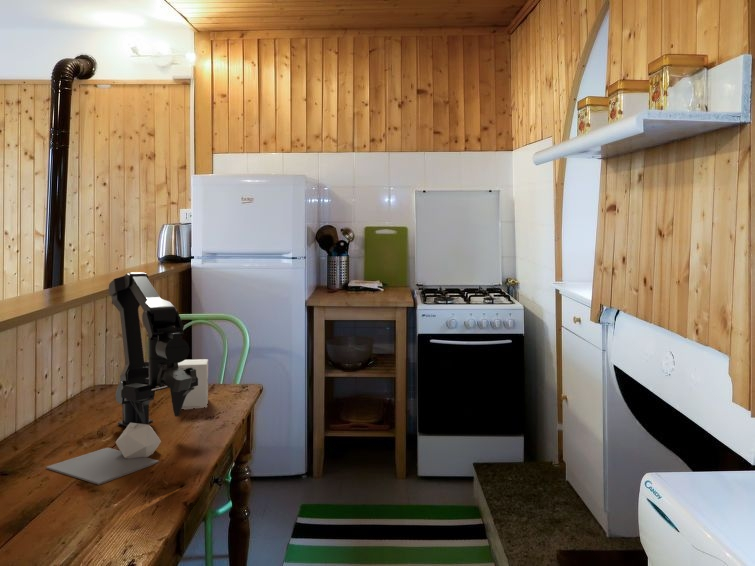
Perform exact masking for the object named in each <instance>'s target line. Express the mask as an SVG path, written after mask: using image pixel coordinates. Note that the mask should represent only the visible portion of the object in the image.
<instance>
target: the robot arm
mask: <svg viewBox="0 0 755 566" xmlns="http://www.w3.org/2000/svg"><path fill="white" fill-rule="evenodd" d="M108 293H109V296H110V298H111V303H112V305H114V307H115V308H116V310H118V312H119V316H120V317H119V318H120V324H121V325H120V327H121V335H122V343H123V344H122V345H123V353H124V362H125V366H124V367H123V370H122V371H121V373H120V374H119V375H120V377H119V380H120V381H119V383H118V385H117V389H116V391H115V394H114V395H115V402H116V403H118V404H120V405H122V406H121V407H122V420H121V421H118V422H117V425H119V426H124V427H127V426H128V425H129V423H138V424H146V425H149V424H151V423H153V419H150V415H149V414H150V403H151V402H152V401H153V400H155V396H156V395H155V393H156V392H158V391H162V390H166V389H169V390H170V396H171V397H170V398H171V404H172V409H173V415H174V417H177V418H178V417H179V416H180V415H181V414H180V413H181V411H182V410H181V409H182V406H183V403H184V400H185V398H186V396H187V394H188V393H189V392H190V391H191V390H194V387H195V386H198V378H197V376H196V369H195V368H193V367H190V368H186V369H182V370H181V369H179V367H178V363H180V362H182V361H184V360H187V358H188V357H189V354H190V349H191V348H190V345H189V344H188V341H186V340H185V339H183V338H182V334H184V333H185V332H184V328H185V326H184V323H183V321H182V318H181V316H180V314H179V311H178V309H177V308H176V307H175V305H173V304H172V303H171V301H169V300H166V299H163V298H161V297H160V295H159V293H158V292H157V290H156V289H155V287H154V285H153V284H152V283H151V282H150V280H149V276H148V273H145V272H144V271H143V272H128V273H126V274H125V275H122V276H119V277H116V278H114V279H112V280H111V281H110V282H109V283H108ZM140 307H141V308H142V315H141V316H142V317H141V319H142V324H143V327H144V328H145V330H146V332H147V334H146V336H147V340H148V342H147V344H148V360H146V361H145V357H144V350H143V349H144V348H143V347H144V346H143V339H142V331H141V330H142V329H141V322H140V313H139V308H140Z"/></svg>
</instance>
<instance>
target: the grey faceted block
mask: <svg viewBox="0 0 755 566" xmlns="http://www.w3.org/2000/svg"><path fill="white" fill-rule="evenodd" d="M125 427H126V428H125V429H124V430H123V431H122V433H121V434H120V436H119V437H118V438H117V439H116V441H115V444H116V446H117V448H118V449H119V450H120V451H121V453H122V454H123V456H124V457H125V458H128V459H129V458H137V457H147V458H149V457H150V456H152V455H153V454H154V452H156V450H157V448H159V446H160V444H161V443H162V441H161V439H160V437H159V436H158V434H157V433H156V431H154V429H153V427H151V426H150V424H148V425H146V424H138V423H129V425H128V426H125Z"/></svg>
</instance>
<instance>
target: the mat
mask: <svg viewBox="0 0 755 566" xmlns="http://www.w3.org/2000/svg"><path fill="white" fill-rule="evenodd" d="M158 463H160V460H157V459H153V458H150V457H137V458H129V459H128V458H125V457H124V456H123V454H122V453H121V451H120V449H119V450H118V449H115V448H111V447H104V448H101V449H98V450H95V451H92V452H88V453H86V454H82V455H79V456H75V457H71V458H69V459H66V460H63V461H60V462H57V463H53V464H50V465H47V466H45V469H46V470H50V471H53V472H56V473H59V474H62V475H66V476H68V477H72V478H76V479H79V480H82V481H84V482H85V481H86V482H88V483H91V484H94V485H98V486H101V485H103V484H106V483H108V482H111V481H113V480H116V479H118V478H121V477H124V476H127V475H129V474H133V473H135V472H139V471H141V470H143V469H146V468H149V467H151V466H153V465H156V464H158Z"/></svg>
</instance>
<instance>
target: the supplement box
mask: <svg viewBox="0 0 755 566" xmlns="http://www.w3.org/2000/svg"><path fill="white" fill-rule="evenodd" d="M178 367H179V369H181V370H182V369H186V368H190V367H193V368H195V369H196V376H197V378H198V386H195V387H194V390H191V391H190V392H189V393H188V394H187V396H186V398H185V400H184V403H183V406H182V409H184V410H194V409H193V408H195V409H203V408H204V407H205V408H208V405H209V359H208V358H207V359H205V358H202V359H185V360H184V361H182V362H180V363H178ZM207 404H208V405H207Z"/></svg>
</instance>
